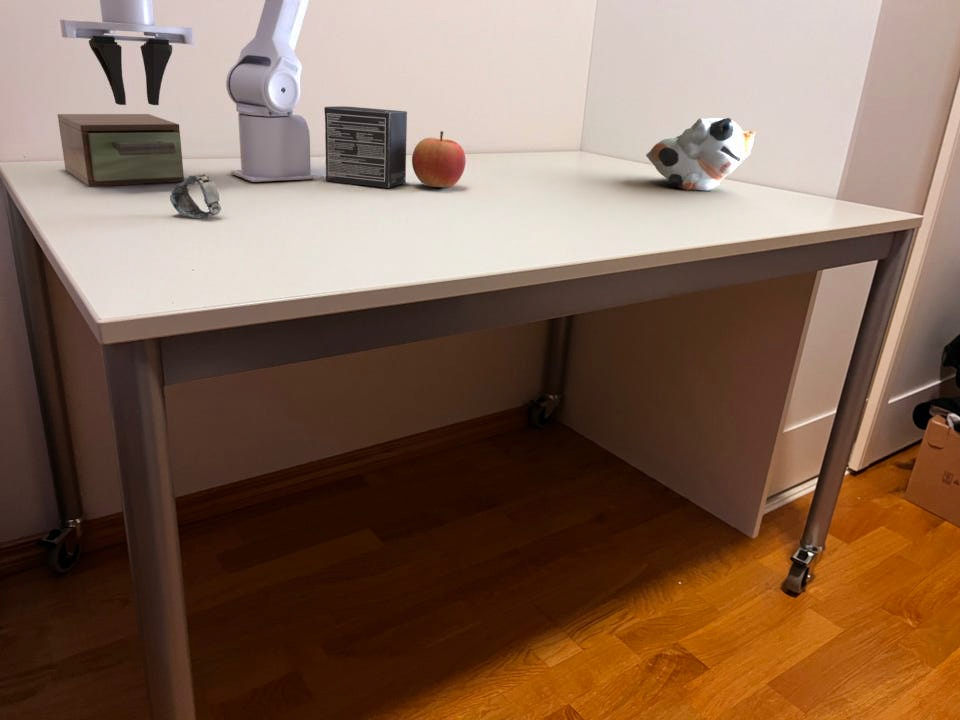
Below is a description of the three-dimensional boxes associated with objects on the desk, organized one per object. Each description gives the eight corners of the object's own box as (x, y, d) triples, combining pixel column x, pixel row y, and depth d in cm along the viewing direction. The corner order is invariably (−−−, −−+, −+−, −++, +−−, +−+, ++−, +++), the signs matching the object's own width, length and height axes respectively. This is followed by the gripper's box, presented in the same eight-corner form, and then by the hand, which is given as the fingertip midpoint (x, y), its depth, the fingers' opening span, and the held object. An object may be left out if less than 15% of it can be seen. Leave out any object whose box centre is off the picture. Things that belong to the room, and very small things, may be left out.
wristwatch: (208, 226, 87) (181, 190, 87) (230, 201, 84) (201, 164, 84) (189, 234, 85) (160, 197, 84) (210, 208, 82) (181, 170, 81)
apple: (440, 181, 118) (442, 127, 115) (475, 189, 112) (478, 133, 109) (399, 184, 112) (400, 128, 109) (434, 193, 107) (436, 135, 104)
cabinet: (184, 181, 105) (179, 124, 102) (88, 186, 98) (80, 125, 95) (154, 166, 114) (149, 114, 111) (65, 170, 107) (57, 114, 104)
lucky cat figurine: (693, 177, 137) (744, 110, 130) (725, 216, 130) (781, 147, 122) (632, 152, 130) (682, 79, 122) (662, 192, 122) (717, 117, 114)
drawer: (195, 183, 99) (192, 137, 97) (106, 187, 93) (99, 138, 91) (155, 163, 112) (151, 122, 109) (73, 166, 105) (67, 123, 103)
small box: (408, 183, 114) (409, 110, 110) (389, 189, 108) (390, 112, 104) (345, 175, 117) (344, 104, 113) (323, 181, 111) (322, 106, 107)
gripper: (176, -11, 96) (185, 102, 102) (48, -23, 88) (65, 100, 93) (195, -12, 91) (204, 106, 97) (61, -25, 83) (79, 106, 88)
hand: (137, 104), depth 94 cm, fingers open, 3 cm apart
